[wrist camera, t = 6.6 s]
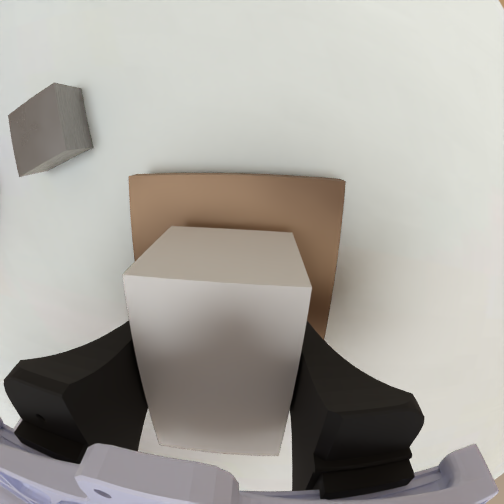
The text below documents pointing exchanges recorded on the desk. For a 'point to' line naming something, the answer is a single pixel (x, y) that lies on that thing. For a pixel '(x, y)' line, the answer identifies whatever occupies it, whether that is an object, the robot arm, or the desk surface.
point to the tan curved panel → (248, 216)
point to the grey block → (49, 129)
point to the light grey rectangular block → (219, 336)
